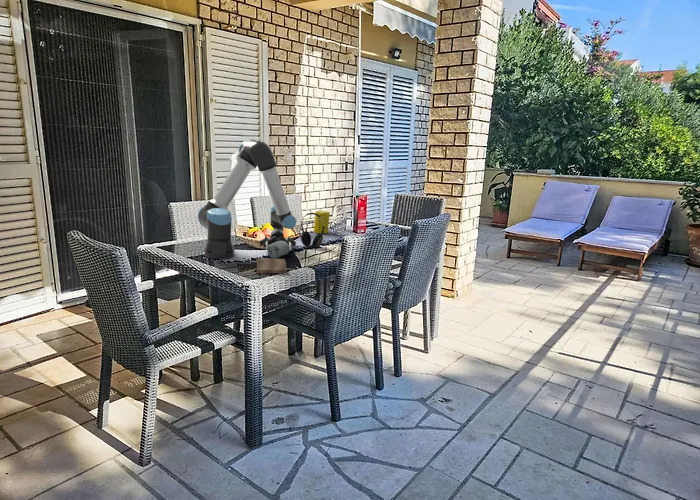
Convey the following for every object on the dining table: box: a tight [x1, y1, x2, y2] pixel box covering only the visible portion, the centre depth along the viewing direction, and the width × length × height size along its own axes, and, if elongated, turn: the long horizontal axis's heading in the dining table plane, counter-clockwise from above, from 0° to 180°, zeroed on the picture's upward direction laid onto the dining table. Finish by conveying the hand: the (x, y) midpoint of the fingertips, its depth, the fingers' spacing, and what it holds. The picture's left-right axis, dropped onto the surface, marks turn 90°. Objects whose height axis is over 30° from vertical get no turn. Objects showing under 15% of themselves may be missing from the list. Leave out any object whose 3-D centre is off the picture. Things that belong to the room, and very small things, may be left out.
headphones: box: [300, 212, 325, 249], centre depth 266 cm, size 9×15×20 cm, turn 69°
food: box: [313, 209, 330, 234], centre depth 302 cm, size 15×12×10 cm
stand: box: [256, 257, 288, 274], centre depth 226 cm, size 14×18×2 cm
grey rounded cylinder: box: [266, 241, 290, 259], centre depth 244 cm, size 14×10×10 cm
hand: (278, 247), depth 240 cm, fingers closed on grey rounded cylinder, 11 cm apart
